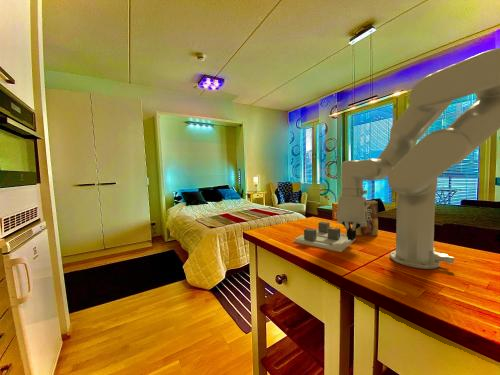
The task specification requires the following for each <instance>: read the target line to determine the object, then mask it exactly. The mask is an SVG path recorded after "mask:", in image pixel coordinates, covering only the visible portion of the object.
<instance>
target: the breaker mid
mask: <svg viewBox="0 0 500 375" xmlns="http://www.w3.org/2000/svg"><path fill="white" fill-rule="evenodd" d="M340 233H341V228H340V227H339V228H338V227H335V226H333V227H332V226H330V228H328V238H330V239H335V240H338V239H340Z"/></svg>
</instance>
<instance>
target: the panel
mask: <svg viewBox="0 0 500 375" xmlns="http://www.w3.org/2000/svg"><path fill="white" fill-rule="evenodd" d="M314 229H315V228H314ZM315 230H316V237H317V239H316V240H315V241H310V240H305V239H304V233H303V234H301V235H299V236H297V237H296V238H294V243H299V244H302V245H306V246H311V247H316V248H321V249H324V250H330V251H333V252H339V253H342V252H343V251H344V250H346V249H347V248H348V247H349V246H350V245H351V244H352V243H354V242H355V241H356V239H357V237H356V238H355V239H354V240H353V241H352V240H348V237H347V233H346V234H345V233H341V232H340V239H338V240H335V239H330V238H328V233H325V232H319V231H318V228H317V229H315Z"/></svg>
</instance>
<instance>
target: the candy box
mask: <svg viewBox="0 0 500 375" xmlns="http://www.w3.org/2000/svg"><path fill="white" fill-rule="evenodd" d="M378 203H379V202H378V201H376V200H366V204H367V221H366V222H367V226H365V227H359V228H357V229H356V236H379V206H378V205H379V204H378Z"/></svg>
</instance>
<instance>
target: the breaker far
mask: <svg viewBox="0 0 500 375" xmlns="http://www.w3.org/2000/svg"><path fill="white" fill-rule="evenodd" d="M317 225H318V226H317V230H318V231H319V232H325V233H328V228H330V227H331V224H330V222H326V221H319V222H318V224H317Z"/></svg>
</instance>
